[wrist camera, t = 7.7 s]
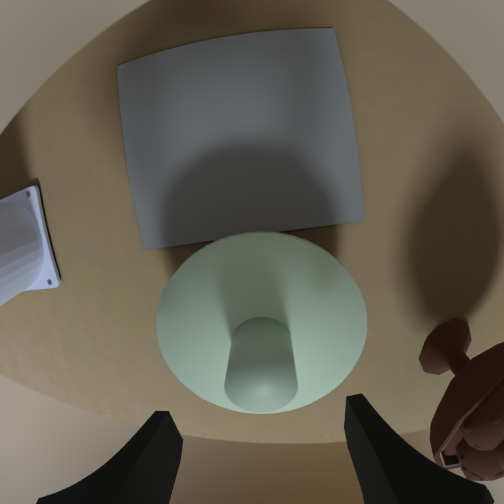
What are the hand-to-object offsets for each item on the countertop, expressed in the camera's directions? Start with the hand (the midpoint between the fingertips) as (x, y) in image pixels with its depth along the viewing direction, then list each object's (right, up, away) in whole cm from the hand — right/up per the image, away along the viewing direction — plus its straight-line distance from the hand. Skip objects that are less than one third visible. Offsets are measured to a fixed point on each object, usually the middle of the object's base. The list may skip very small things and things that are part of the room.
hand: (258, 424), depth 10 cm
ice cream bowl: (+16, -1, +10) cm, 19 cm away
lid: (0, +3, +5) cm, 6 cm away
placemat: (-1, +14, +6) cm, 15 cm away
